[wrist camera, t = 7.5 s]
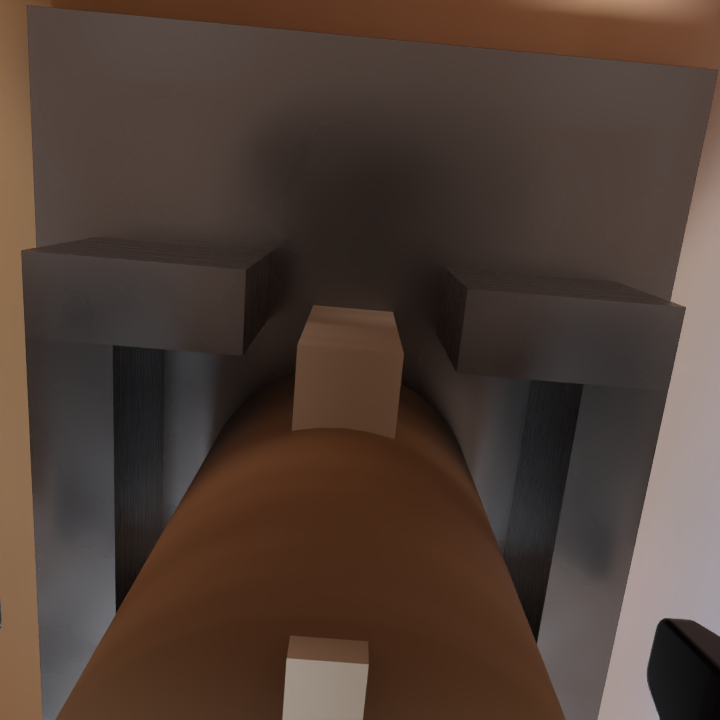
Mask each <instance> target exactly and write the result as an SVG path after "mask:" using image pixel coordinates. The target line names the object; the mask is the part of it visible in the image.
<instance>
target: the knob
mask: <svg viewBox="0 0 720 720" xmlns="http://www.w3.org/2000/svg"><path fill="white" fill-rule="evenodd" d="M403 359H404V352H403V348H402V345H401V341H400V337H399V333H398V329H397V326H396V322H395V318H394V314H393V312H387V311H375V310H364V309H352V308H341V307H329V306H317V305H313V307H312V310H311V312H310V315H309V317H308V320H307V322H306V325H305V327H304V330H303V332H302V335H301V337H300V340H299V342H298V345H297V358H296V374H294V375H292V376H289V377H286V378H284V379H281V380H278V381H276V382H274V383H272V384H271V385H269V386H267V387H265V388H263V389H261V390H260V391H259V392H257V393H256V394H255V395H253V396H252V397H250V398H249V399H248V400H247V401H246V402H244V403H243V404H242V405H241V406H240V407H239V408H238V409H237V410H236V411H235V412H234V414H233V415H232V416H231V417H230V419H229V420H228V421H227V422H226V424H225V425H224V427H223V428H222V430H221V432H220V434H219V435H218V437H217V439H216V440H215V442H214V444H213V446H212V447H211V449H210V451H209V453H208V454H207V456H206V458H205V460H204V461H203V463H202V465H201V467H200V468H199V470H198V472H197V474H196V475H195V477H194V479H193V480H192V482H191V484H190V486H189V487H188V489H187V491H186V493H185V494H184V496H183V498H182V500H181V501H180V503H179V505H178V507H177V508H176V510H175V512H174V514H173V515H172V517H171V519H170V521H169V522H168V524H167V526H166V528H165V529H164V531H163V533H162V534H161V536H160V538H159V540H158V541H157V543H156V545H155V547H154V548H153V550H152V552H151V554H150V555H149V557H148V559H147V561H146V562H145V564H144V566H143V568H142V569H141V571H140V573H139V575H138V576H137V578H136V580H135V582H134V583H133V585H132V587H131V589H130V590H129V592H128V594H127V595H126V597H125V599H124V601H123V602H122V604H121V606H120V608H119V609H118V611H117V613H116V615H115V616H114V618H113V620H112V622H111V623H110V625H109V627H108V629H107V630H106V632H105V634H104V636H103V637H102V639H101V641H100V643H99V644H98V646H97V648H96V649H95V651H94V653H93V655H92V656H91V658H90V660H89V662H88V663H87V665H86V667H85V669H84V670H83V672H82V674H81V676H80V677H79V679H78V681H77V683H76V684H75V686H74V688H73V690H72V691H71V693H70V695H69V697H68V698H67V700H66V702H65V703H64V705H63V707H62V709H61V710H60V712H59V714H58V716H57V717H56V719H55V720H566V719H565V716H564V713H563V711H562V708H561V706H560V703H559V700H558V698H557V695H556V693H555V690H554V688H553V685H552V682H551V680H550V677H549V675H548V672H547V669H546V667H545V664H544V662H543V659H542V657H541V654H540V651H539V649H538V646H537V644H536V641H535V638H534V636H533V633H532V631H531V628H530V626H529V623H528V620H527V618H526V615H525V613H524V610H523V607H522V605H521V602H520V600H519V597H518V595H517V592H516V589H515V587H514V584H513V582H512V579H511V576H510V574H509V571H508V569H507V566H506V564H505V561H504V558H503V556H502V553H501V551H500V548H499V545H498V543H497V540H496V538H495V535H494V533H493V530H492V527H491V525H490V522H489V520H488V517H487V514H486V512H485V509H484V507H483V504H482V502H481V499H480V496H479V494H478V491H477V489H476V486H475V483H474V481H473V478H472V476H471V473H470V471H469V468H468V465H467V463H466V460H465V458H464V455H463V452H462V450H461V447H460V445H459V443H458V441H457V439H456V437H455V435H454V433H453V432H452V430H451V428H450V427H449V425H448V424H447V423H446V421H445V420H444V419H443V417H442V416H441V415H440V414H439V413H438V412H437V411H436V410H435V409H434V408H433V407H432V406H431V405H430V404H429V403H428V402H427V401H426V400H424V399H423V398H422V397H421V396H419V395H418V394H417V393H415V392H414V391H412V390H410V389H409V388H407V387H405V386H404V385H402V384H401V377H402V368H403Z"/></svg>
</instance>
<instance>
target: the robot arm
mask: <svg viewBox="0 0 720 720" xmlns="http://www.w3.org/2000/svg"><path fill="white" fill-rule="evenodd" d="M0 628H1V605H0ZM647 682H648V687H649V691H650V694H651V697H652V699H653V702H654V705H655V708H656V711H657V714H658V717H659V720H720V637H719V636H718V635H716V634H715V633H713V632H711V631H710V630H708V629H706V628H705V627H703V626H701V625H700V624H698V623H696V622H695V621H692V620H685V619H671V618H664V619H663V620H661V621H660V622H659V624H658V625H657V628H656V632H655V636H654V641H653V645H652V649H651V653H650V658H649V662H648V666H647Z"/></svg>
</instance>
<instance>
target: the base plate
mask: <svg viewBox="0 0 720 720" xmlns="http://www.w3.org/2000/svg"><path fill="white" fill-rule="evenodd" d="M27 24H28V49H29V74H30V99H31V124H32V149H33V173H34V198H35V223H36V248H32V249H27V250H21V256H22V278H23V299H24V321H25V343H26V364H27V386H28V408H29V429H30V451H31V472H32V494H33V516H34V537H35V559H36V581H37V602H38V624H39V646H40V667H41V689H42V711H43V720H55V719H56V717H57V716H58V714H59V712H60V710H61V709H62V707H63V705H64V703H65V702H66V700H67V698H68V697H69V695H70V693H71V691H72V690H73V688H74V686H75V684H76V683H77V681H78V679H79V677H80V676H81V674H82V672H83V670H84V669H85V667H86V665H87V663H88V662H89V660H90V658H91V656H92V655H93V653H94V651H95V649H96V648H97V646H98V644H99V643H100V641H101V639H102V637H103V636H104V634H105V632H106V630H107V629H108V627H109V625H110V623H111V622H112V620H113V618H114V616H115V615H116V613H117V611H118V609H119V608H120V606H121V604H122V602H123V601H124V599H125V597H126V595H127V594H128V592H129V590H130V589H131V587H132V585H133V583H134V582H135V580H136V578H137V576H138V575H139V573H140V571H141V569H142V568H143V566H144V564H145V562H146V561H147V559H148V557H149V555H150V554H151V552H152V550H153V548H154V547H155V545H156V543H157V541H158V540H159V538H160V536H161V534H162V533H163V531H164V529H165V528H166V526H167V524H168V522H169V521H170V519H171V517H172V515H173V514H174V512H175V510H176V508H177V507H178V505H179V503H180V501H181V500H182V498H183V496H184V494H185V493H186V491H187V489H188V487H189V486H190V484H191V482H192V480H193V479H194V477H195V475H196V474H197V472H198V470H199V468H200V467H201V465H202V463H203V461H204V460H205V458H206V456H207V454H208V453H209V451H210V449H211V447H212V446H213V444H214V442H215V440H216V439H217V437H218V435H219V434H220V432H221V430H222V428H223V427H224V425H225V424H226V422H227V421H228V420H229V419H230V417H231V416H232V415H233V414H234V412H235V411H236V410H237V409H238V408H239V407H240V406H241V405H242V404H243V403H244V402H246V401H247V400H248V399H249V398H250V397H252V396H253V395H255V394H256V393H257V392H259V391H260V390H261V389H263V388H265V387H267V386H269V385H271V384H272V383H274V382H276V381H278V380H281V379H284V378H286V377H289V376H292V375H294V374H296V358H297V345H298V342H299V340H300V337H301V335H302V332H303V330H304V327H305V325H306V322H307V320H308V317H309V315H310V312H311V310H312V307H313V305H317V306H329V307H341V308H352V309H364V310H375V311H387V312H393V314H394V318H395V322H396V326H397V329H398V333H399V337H400V341H401V345H402V348H403V352H404V359H403V368H402V377H401V384H402V385H404V386H405V387H407V388H409V389H410V390H412V391H414V392H415V393H417V394H418V395H419V396H421V397H422V398H423V399H424V400H426V401H427V402H428V403H429V404H430V405H431V406H432V407H433V408H434V409H435V410H436V411H437V412H438V413H439V414H440V415H441V416H442V417H443V419H444V420H445V421H446V423H447V424H448V425H449V427H450V428H451V430H452V432H453V433H454V435H455V437H456V439H457V441H458V443H459V445H460V447H461V450H462V452H463V455H464V458H465V460H466V463H467V465H468V468H469V471H470V473H471V476H472V478H473V481H474V483H475V486H476V489H477V491H478V494H479V496H480V499H481V502H482V504H483V507H484V509H485V512H486V514H487V517H488V520H489V522H490V525H491V527H492V530H493V533H494V535H495V538H496V540H497V543H498V545H499V548H500V551H501V553H502V556H503V558H504V561H505V564H506V566H507V569H508V571H509V574H510V576H511V579H512V582H513V584H514V587H515V589H516V592H517V595H518V597H519V600H520V602H521V605H522V607H523V610H524V613H525V615H526V618H527V620H528V623H529V626H530V628H531V631H532V633H533V636H534V638H535V641H536V644H537V646H538V649H539V651H540V654H541V657H542V659H543V662H544V664H545V667H546V669H547V672H548V675H549V677H550V680H551V682H552V685H553V688H554V690H555V693H556V695H557V698H558V700H559V703H560V706H561V708H562V711H563V713H564V716H565V719H566V720H597V718H598V714H599V709H600V704H601V700H602V695H603V691H604V686H605V681H606V677H607V672H608V667H609V663H610V658H611V653H612V649H613V644H614V639H615V635H616V630H617V626H618V621H619V616H620V612H621V607H622V602H623V598H624V593H625V588H626V584H627V579H628V574H629V570H630V565H631V561H632V556H633V551H634V547H635V542H636V537H637V533H638V528H639V523H640V519H641V514H642V509H643V505H644V500H645V495H646V491H647V486H648V482H649V477H650V472H651V468H652V463H653V458H654V454H655V449H656V444H657V440H658V435H659V430H660V426H661V421H662V417H663V412H664V407H665V403H666V398H667V393H668V389H669V384H670V379H671V375H672V370H673V365H674V361H675V356H676V352H677V347H678V342H679V338H680V333H681V328H682V324H683V319H684V314H685V310H686V307H684V306H681V305H678V304H676V303H673V302H670V300H671V295H672V290H673V286H674V281H675V276H676V271H677V266H678V262H679V257H680V252H681V247H682V243H683V238H684V233H685V228H686V223H687V219H688V214H689V209H690V204H691V199H692V195H693V190H694V185H695V180H696V175H697V171H698V166H699V161H700V156H701V151H702V147H703V142H704V137H705V132H706V127H707V123H708V118H709V113H710V108H711V104H712V99H713V94H714V89H715V84H716V80H717V75H718V70H713V69H703V68H692V67H681V66H671V65H660V64H649V63H638V62H628V61H617V60H606V59H596V58H585V57H574V56H564V55H553V54H542V53H531V52H521V51H510V50H499V49H489V48H478V47H467V46H456V45H446V44H435V43H424V42H414V41H403V40H392V39H382V38H371V37H360V36H349V35H339V34H328V33H317V32H307V31H296V30H285V29H274V28H264V27H253V26H242V25H232V24H221V23H210V22H199V21H189V20H178V19H167V18H157V17H146V16H135V15H125V14H114V13H103V12H92V11H82V10H71V9H60V8H50V7H39V6H28V5H27Z"/></svg>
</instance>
